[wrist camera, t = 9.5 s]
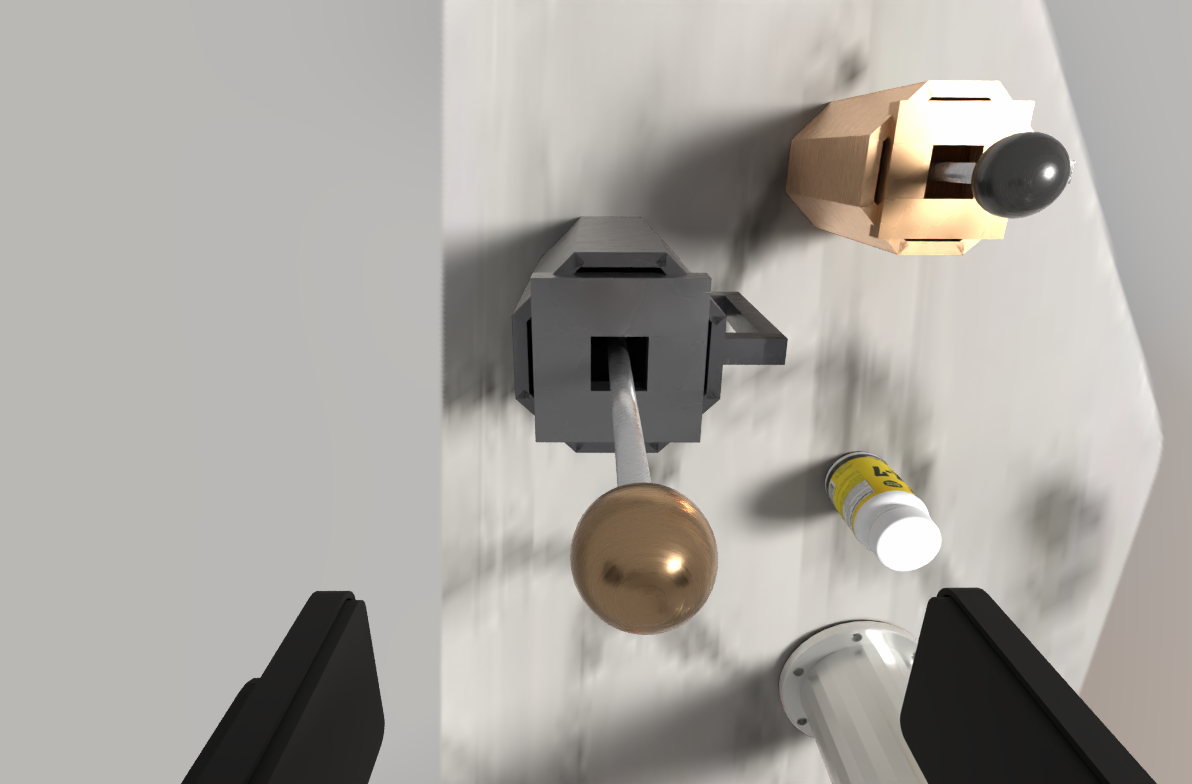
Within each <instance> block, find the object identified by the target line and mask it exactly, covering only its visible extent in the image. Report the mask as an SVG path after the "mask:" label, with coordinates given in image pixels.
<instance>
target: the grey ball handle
mask: <svg viewBox="0 0 1192 784" xmlns="http://www.w3.org/2000/svg"><path fill="white" fill-rule="evenodd" d="M880 162H881V161H880ZM879 168H880V165H879ZM878 175H879V171H878ZM1069 175H1070V159H1069V156H1068V153H1067V151H1066V149H1065V148H1064V146H1063V145H1062V144H1061V143H1060V142H1059V141H1058V140H1056V139H1055V138H1053V137H1052V136H1050V135H1047V134H1044V133H1040V132H1031V131H1028V132H1019V133H1014V134H1011V135H1009V136H1006V137H1004V138H1002V139H1000V140H998V141H997V142H995V143H994V144H992V145H991V146H990V147H989V148H988V149H987V150H985V152H984V153H983V154H982V155H981V156H980V158H979V159H978V161H977V163H954V162H930V166H929V171H928V177H927V180H931V181H943V182H956V183H968V184H971V189H972V193H973V196H974V198H975V200H976V202H977V203H978V204H979V205H980V206H981V208H983V209H984V210H985V211H987V212H988V213H990V214H992V215H995V216H998V217H1002V218H1022V217H1027V216H1030V215H1033V214H1035V213H1037V212H1040V211H1041V210H1043V209H1045V208H1046V207H1048V206H1049V205H1050V204H1052V203H1053V202H1054V201H1055V200H1056V199H1057V198H1058V197H1059V195H1060V194H1061V193H1062V191H1063V190H1064V188H1065V186H1066V184H1067V182H1068V179H1069Z"/></svg>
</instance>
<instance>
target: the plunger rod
mask: <svg viewBox="0 0 1192 784" xmlns="http://www.w3.org/2000/svg"><path fill="white" fill-rule="evenodd" d="M606 337H607V350H608V364H609V377H610V390H611V404H612V417H613V431H614V444H615V458H616V471H617V484H618V487H617V488H614V489H612V490H610V491H608V492H607V493H605V494H603V495H602V496H600V497H599V498H598V499H596V500H595V501H594V502H593V503H592V504H591V505H590V506H589V508H588V509H587V510H586V511H585V513H584V514H583V515H582V517H581V519H580V521H579V522H578V525H577V527H576V530H575V532H574V535H573V539H572V544H571V553H570V561H571V571H572V575H573V579H574V582H575V585H576V588H577V590H578V592H579V594H580V596H581V597H582V599H583V601H584V602H585V604H586V605H587V606H588V607H589V609H590V610H591V611H592V612H593V613H594V614H595V615H596V616H597V617H598V618H600V619H601V620H603V621H604V622H605V623H607V624H608V625H610V626H612V627H614V628H616V629H619V630H621V631H624V632H628V633H633V634H642V635H650V634H658V633H663V632H667V631H669V630H672V629H674V628H677V627H679V626H681V625H682V624H684V623H685V622H687V621H688V620H690V619H691V618H692V617H693V616H694V615H695V614H696V613H697V612H698V611H699V610H700V609H701V608H702V606H703V605H704V604H705V602H706V601H707V599H708V597H709V595H710V593H711V591H712V589H713V586H714V583H715V579H716V575H717V569H718V552H717V546H716V541H715V537H714V534H713V531H712V529H711V527H710V525H709V523H708V521H707V519H706V518H705V516H704V515H703V513H702V512H701V511H700V509H699V508H698V507H697V506H696V505H695V504H694V503H693V502H692V501H691V500H689V499H688V498H687V497H686V496H684V495H683V494H681V493H679V492H678V491H676V490H674V489H671V488H669V487H666V486H663V485H659V484H654V483H651V478H650V472H649V467H648V461H647V456H646V450H645V444H644V439H643V433H642V427H641V422H640V416H639V411H638V405H637V399H636V394H635V388H634V382H633V377H632V371H631V365H630V360H629V354H628V349H627V343H626V337H613V336H606Z"/></svg>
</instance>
